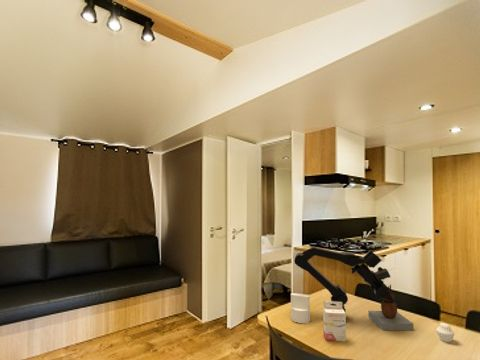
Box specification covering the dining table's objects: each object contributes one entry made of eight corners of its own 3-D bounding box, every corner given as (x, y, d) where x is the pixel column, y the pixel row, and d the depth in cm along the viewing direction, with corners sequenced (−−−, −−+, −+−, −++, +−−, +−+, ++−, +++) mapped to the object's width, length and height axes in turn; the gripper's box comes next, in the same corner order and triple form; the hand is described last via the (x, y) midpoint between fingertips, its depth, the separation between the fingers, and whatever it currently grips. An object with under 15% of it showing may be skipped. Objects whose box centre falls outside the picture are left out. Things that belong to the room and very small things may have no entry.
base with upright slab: (289, 322, 135) (289, 296, 135) (293, 314, 143) (292, 291, 144) (308, 325, 131) (307, 299, 132) (311, 317, 139) (310, 293, 140)
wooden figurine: (392, 314, 136) (390, 282, 137) (400, 319, 130) (398, 286, 131) (379, 314, 135) (377, 283, 136) (386, 319, 129) (384, 287, 130)
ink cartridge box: (325, 340, 117) (325, 305, 118) (323, 334, 122) (322, 300, 123) (346, 341, 116) (345, 305, 117) (343, 335, 121) (342, 301, 122)
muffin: (438, 335, 121) (437, 318, 121) (456, 340, 117) (455, 323, 117) (435, 340, 117) (434, 323, 117) (453, 346, 112) (452, 328, 113)
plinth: (382, 330, 126) (382, 323, 126) (368, 316, 140) (368, 310, 140) (413, 330, 126) (413, 323, 126) (396, 316, 140) (396, 310, 140)
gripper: (383, 267, 126) (411, 294, 123) (374, 259, 144) (399, 282, 141) (364, 283, 128) (392, 311, 124) (358, 273, 146) (382, 296, 142)
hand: (391, 299), depth 133 cm, fingers open, 5 cm apart
